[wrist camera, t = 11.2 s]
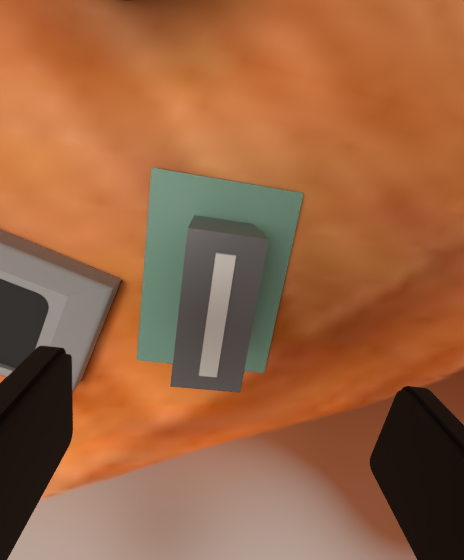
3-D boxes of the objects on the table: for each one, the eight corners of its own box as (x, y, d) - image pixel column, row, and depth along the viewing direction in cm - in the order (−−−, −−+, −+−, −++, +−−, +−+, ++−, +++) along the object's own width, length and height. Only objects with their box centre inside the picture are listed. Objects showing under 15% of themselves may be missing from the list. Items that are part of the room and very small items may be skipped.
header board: (155, 168, 20) (139, 164, 16) (298, 192, 22) (321, 195, 17) (140, 351, 24) (124, 389, 20) (261, 364, 26) (272, 402, 21)
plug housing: (194, 215, 20) (187, 228, 14) (253, 223, 21) (269, 240, 15) (180, 335, 23) (169, 388, 17) (233, 341, 23) (240, 394, 17)
